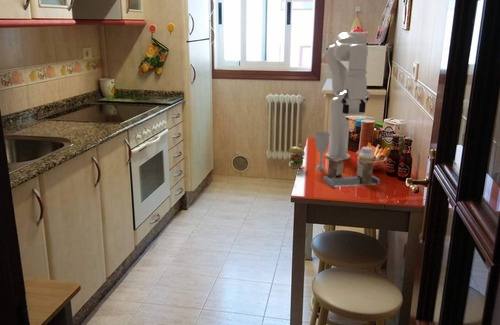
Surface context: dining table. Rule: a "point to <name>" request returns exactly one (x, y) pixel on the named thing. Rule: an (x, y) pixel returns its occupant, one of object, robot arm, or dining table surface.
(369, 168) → the mounted finger
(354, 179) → the rail
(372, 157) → the supplement bottle
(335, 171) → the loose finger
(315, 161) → the dining table surface
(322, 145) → the chalice
